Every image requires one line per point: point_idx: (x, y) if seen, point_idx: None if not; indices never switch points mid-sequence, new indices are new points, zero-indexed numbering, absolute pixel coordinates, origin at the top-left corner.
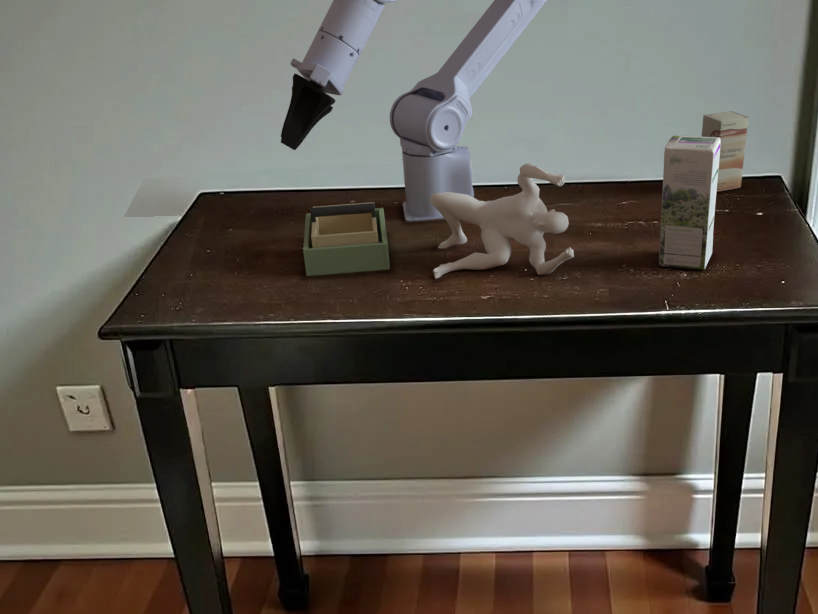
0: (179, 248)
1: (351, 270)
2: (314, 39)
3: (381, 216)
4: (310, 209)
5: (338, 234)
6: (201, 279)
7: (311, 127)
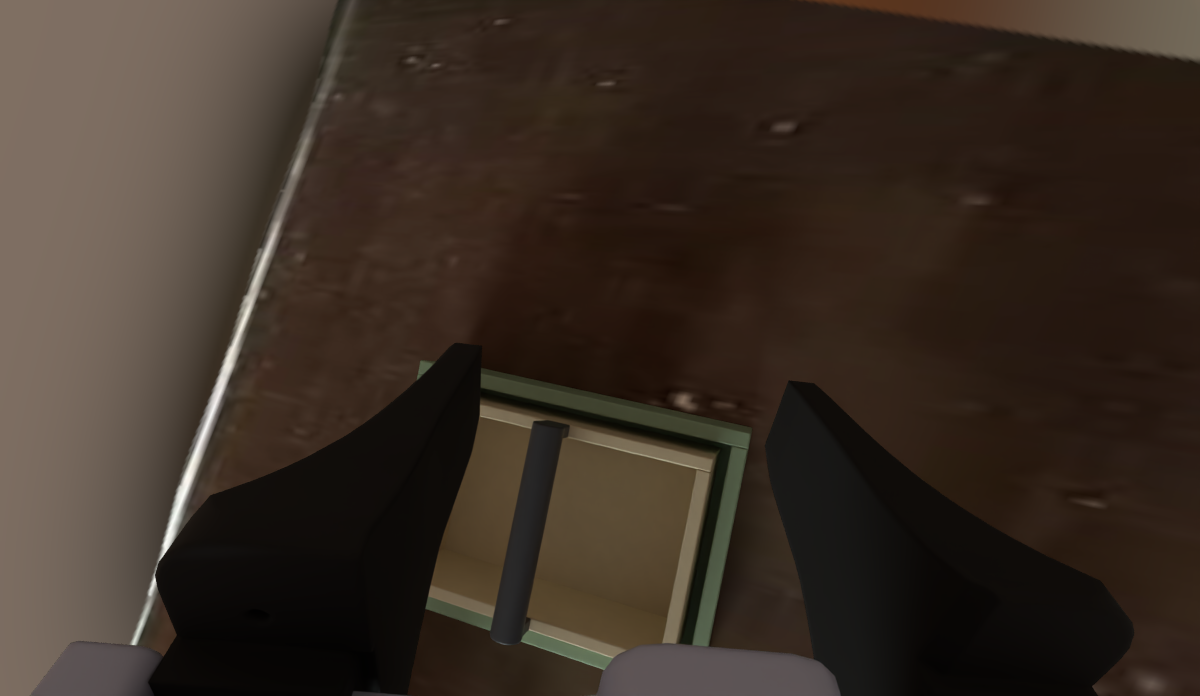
0: (849, 39)
1: None
2: None
3: (608, 662)
4: (539, 423)
5: None
6: (564, 109)
7: (801, 584)
